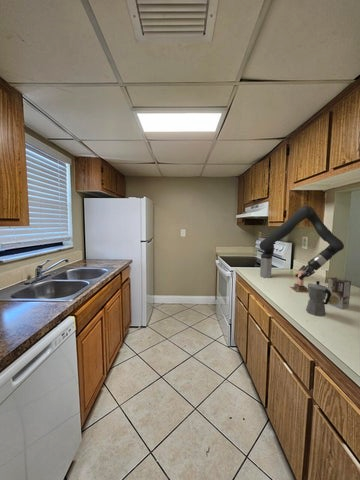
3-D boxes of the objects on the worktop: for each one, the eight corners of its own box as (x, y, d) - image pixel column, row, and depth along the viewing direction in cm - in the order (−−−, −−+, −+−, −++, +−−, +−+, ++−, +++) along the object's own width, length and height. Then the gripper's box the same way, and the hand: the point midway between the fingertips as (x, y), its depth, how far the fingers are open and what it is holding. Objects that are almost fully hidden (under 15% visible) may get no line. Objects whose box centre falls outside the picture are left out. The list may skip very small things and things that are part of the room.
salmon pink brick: (297, 283, 151) (298, 270, 150) (299, 283, 151) (301, 270, 150) (300, 285, 146) (301, 272, 145) (303, 286, 146) (304, 272, 145)
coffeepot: (299, 307, 120) (301, 277, 118) (314, 307, 121) (316, 277, 119) (320, 320, 105) (322, 286, 103) (336, 320, 106) (339, 286, 104)
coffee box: (349, 307, 121) (351, 281, 119) (342, 309, 118) (344, 282, 117) (332, 302, 129) (335, 277, 127) (326, 303, 127) (328, 278, 125)
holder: (289, 287, 155) (289, 281, 155) (303, 288, 154) (303, 282, 153) (296, 293, 143) (296, 286, 143) (311, 294, 142) (312, 287, 142)
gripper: (308, 256, 152) (290, 271, 155) (319, 260, 138) (298, 276, 141) (315, 263, 152) (297, 278, 155) (326, 268, 138) (306, 284, 141)
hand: (297, 277), depth 148 cm, fingers closed on salmon pink brick, 5 cm apart
